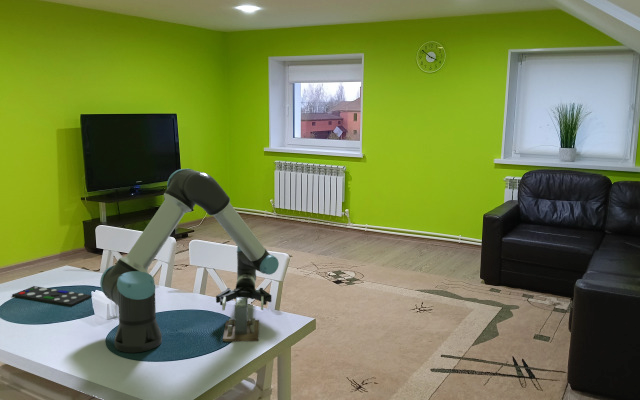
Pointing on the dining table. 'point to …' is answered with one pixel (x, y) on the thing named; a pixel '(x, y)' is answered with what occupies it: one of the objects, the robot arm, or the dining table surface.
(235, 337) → the pin tray
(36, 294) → the remote control
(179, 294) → the dining table surface
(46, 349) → the dining table surface
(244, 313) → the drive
